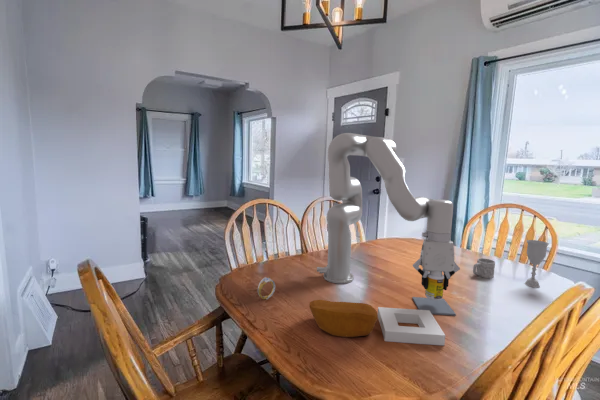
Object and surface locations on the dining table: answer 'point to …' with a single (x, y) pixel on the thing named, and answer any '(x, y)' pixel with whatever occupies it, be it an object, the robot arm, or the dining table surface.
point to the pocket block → (420, 335)
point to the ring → (263, 285)
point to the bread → (344, 317)
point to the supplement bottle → (435, 285)
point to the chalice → (535, 258)
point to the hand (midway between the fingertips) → (434, 287)
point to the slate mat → (434, 306)
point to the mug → (484, 268)
